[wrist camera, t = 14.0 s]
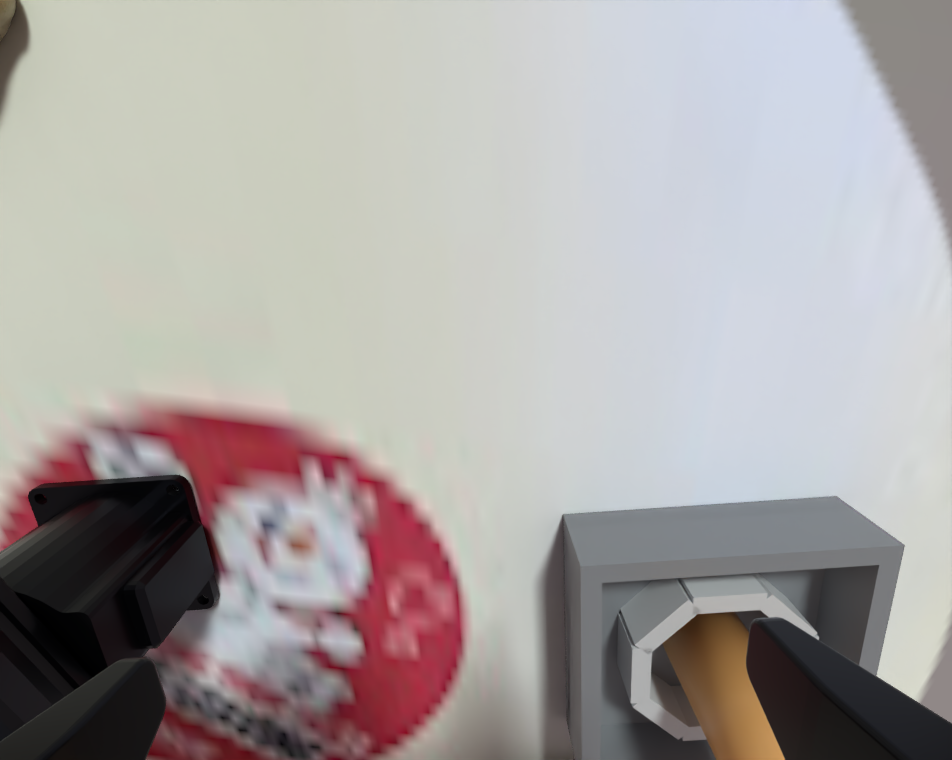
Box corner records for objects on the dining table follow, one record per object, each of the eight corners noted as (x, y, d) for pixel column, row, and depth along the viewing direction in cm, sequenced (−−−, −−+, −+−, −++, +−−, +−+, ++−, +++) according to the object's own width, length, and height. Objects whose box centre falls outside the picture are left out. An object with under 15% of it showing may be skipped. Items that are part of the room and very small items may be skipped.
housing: (566, 719, 25) (582, 795, 22) (563, 514, 22) (580, 566, 18) (802, 705, 25) (853, 778, 22) (836, 496, 21) (904, 545, 18)
